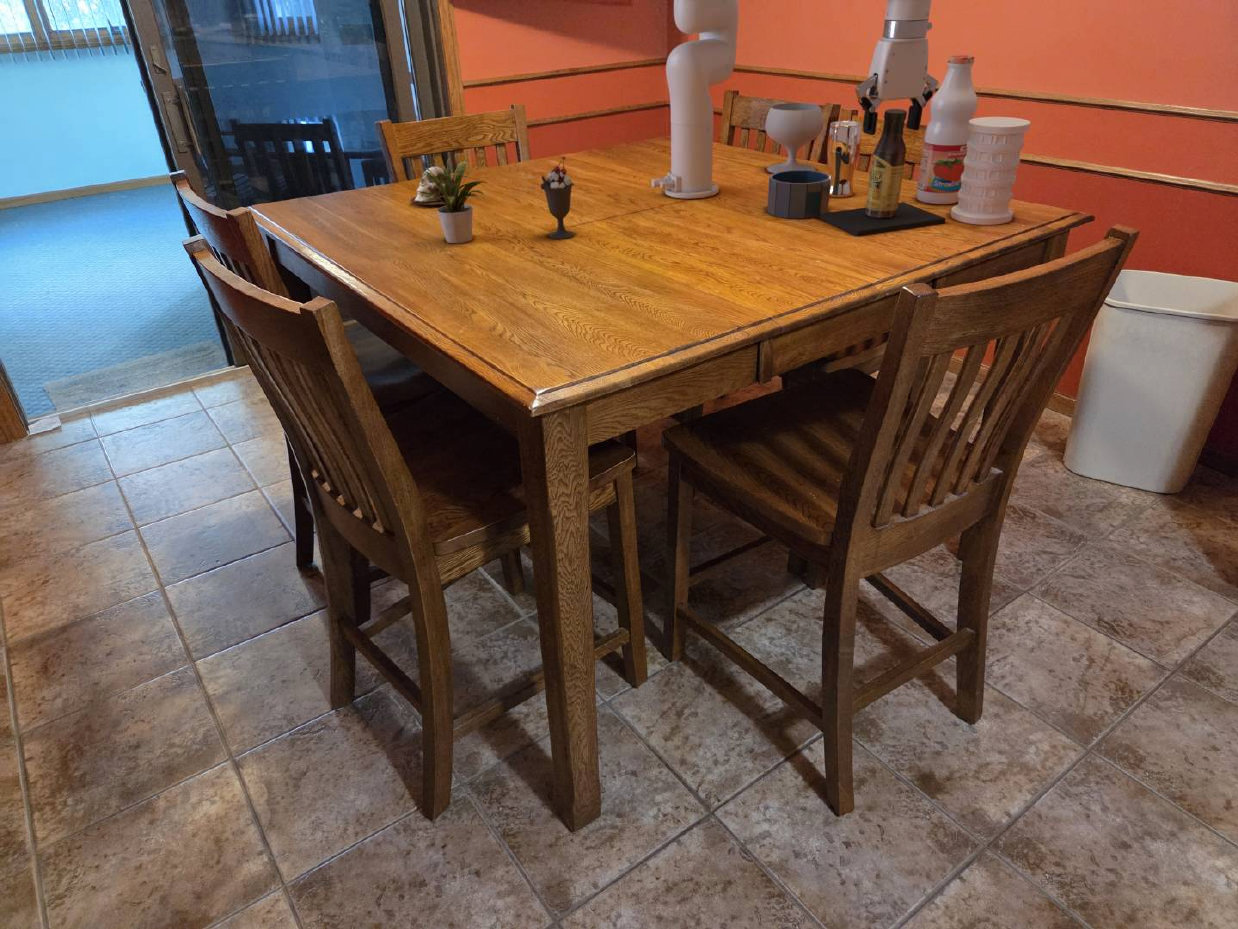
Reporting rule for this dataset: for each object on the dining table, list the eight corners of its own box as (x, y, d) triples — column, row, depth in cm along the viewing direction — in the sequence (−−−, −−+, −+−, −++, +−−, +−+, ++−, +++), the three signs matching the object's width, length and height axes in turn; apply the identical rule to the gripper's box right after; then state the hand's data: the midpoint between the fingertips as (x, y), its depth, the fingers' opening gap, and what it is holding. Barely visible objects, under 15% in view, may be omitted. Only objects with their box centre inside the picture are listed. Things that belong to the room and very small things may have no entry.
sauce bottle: (860, 212, 167) (872, 108, 157) (890, 210, 167) (904, 106, 157) (871, 221, 162) (884, 113, 151) (902, 219, 162) (917, 111, 151)
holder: (785, 221, 167) (787, 186, 164) (757, 207, 178) (759, 174, 174) (838, 213, 170) (842, 179, 167) (808, 200, 181) (811, 167, 177)
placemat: (856, 236, 157) (857, 230, 156) (819, 218, 168) (819, 213, 168) (944, 223, 162) (945, 218, 161) (902, 206, 173) (903, 201, 173)
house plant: (430, 256, 157) (415, 168, 149) (410, 238, 168) (396, 156, 159) (499, 243, 163) (489, 157, 154) (476, 227, 173) (465, 146, 164)
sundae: (582, 231, 167) (577, 155, 159) (570, 241, 162) (564, 162, 154) (553, 229, 169) (546, 154, 161) (540, 239, 164) (533, 161, 156)
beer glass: (852, 189, 187) (859, 119, 179) (856, 197, 181) (864, 125, 173) (821, 190, 188) (827, 120, 180) (825, 198, 182) (831, 126, 174)
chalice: (824, 175, 200) (830, 109, 192) (767, 177, 200) (770, 112, 192) (813, 163, 212) (818, 101, 204) (759, 165, 212) (762, 103, 204)
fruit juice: (940, 192, 182) (963, 52, 167) (970, 201, 175) (997, 56, 160) (906, 197, 179) (926, 56, 164) (935, 207, 172) (960, 60, 157)
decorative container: (940, 218, 164) (956, 123, 155) (964, 206, 171) (981, 114, 162) (998, 228, 157) (1018, 129, 148) (1021, 214, 164) (1041, 119, 155)
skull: (429, 206, 185) (407, 168, 186) (418, 230, 194) (396, 193, 194) (473, 194, 192) (451, 157, 192) (460, 218, 201) (439, 182, 201)
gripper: (932, 26, 152) (917, 124, 161) (851, 32, 148) (840, 132, 157) (958, 29, 146) (941, 130, 155) (875, 35, 142) (862, 139, 151)
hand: (890, 131), depth 156 cm, fingers open, 9 cm apart
